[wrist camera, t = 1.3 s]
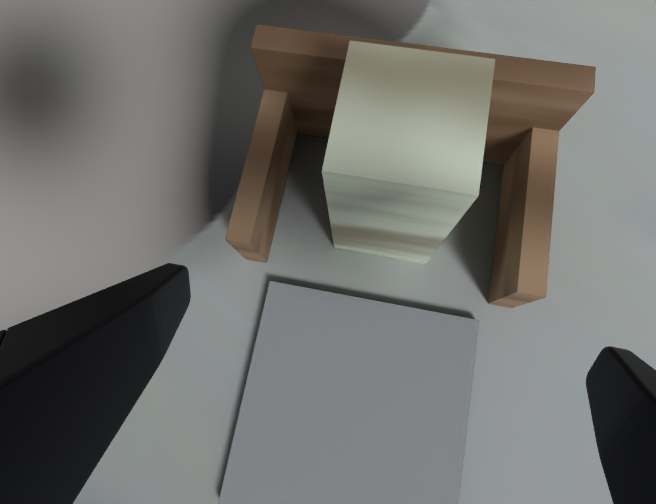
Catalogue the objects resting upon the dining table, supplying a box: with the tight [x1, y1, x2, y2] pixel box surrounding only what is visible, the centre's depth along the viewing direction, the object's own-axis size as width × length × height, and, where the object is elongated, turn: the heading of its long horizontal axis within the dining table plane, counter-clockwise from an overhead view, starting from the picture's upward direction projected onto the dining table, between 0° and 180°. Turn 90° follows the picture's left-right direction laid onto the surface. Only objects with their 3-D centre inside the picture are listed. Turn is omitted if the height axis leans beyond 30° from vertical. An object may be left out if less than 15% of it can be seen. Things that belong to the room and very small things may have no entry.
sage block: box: [322, 41, 495, 264], centre depth 19 cm, size 5×5×10 cm
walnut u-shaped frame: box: [225, 25, 596, 308], centre depth 20 cm, size 9×14×7 cm, turn 79°
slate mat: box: [218, 281, 479, 504], centre depth 21 cm, size 11×11×1 cm
